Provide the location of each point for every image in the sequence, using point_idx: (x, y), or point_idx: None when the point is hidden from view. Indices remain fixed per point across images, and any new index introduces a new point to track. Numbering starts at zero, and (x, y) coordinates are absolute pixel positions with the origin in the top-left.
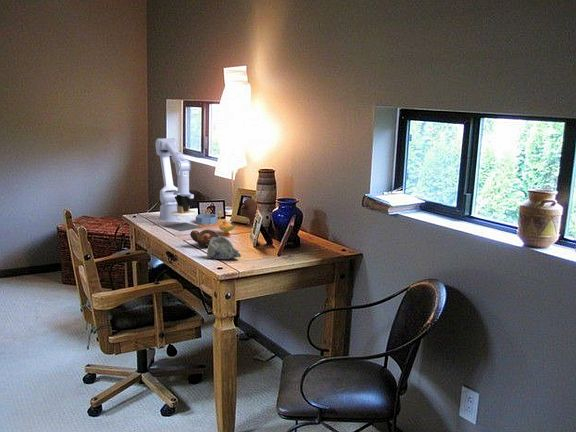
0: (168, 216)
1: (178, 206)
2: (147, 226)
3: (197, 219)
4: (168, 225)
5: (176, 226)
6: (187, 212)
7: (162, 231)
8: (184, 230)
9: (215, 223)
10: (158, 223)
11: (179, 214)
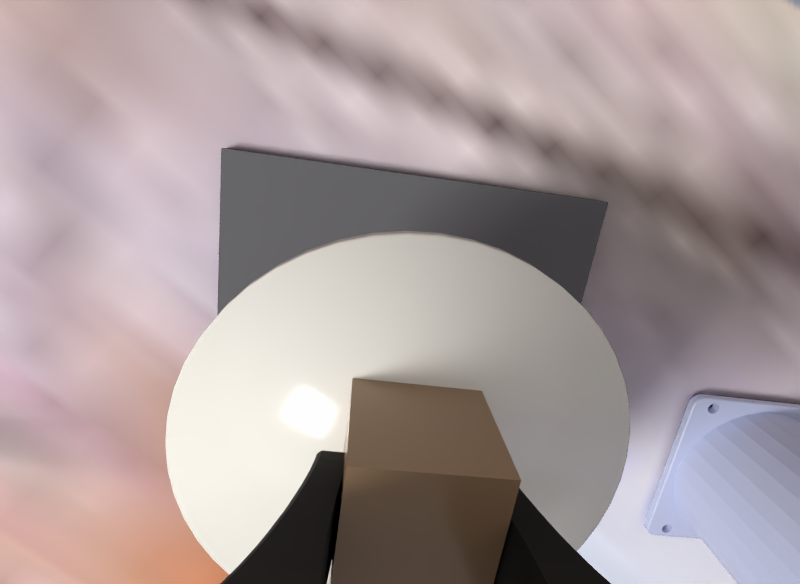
0: (762, 454)
1: (471, 470)
2: (789, 84)
3: None
4: (573, 269)
5: None
6: None
7: (437, 12)
8: (225, 216)
9: None
10: (764, 292)
11: (319, 300)
